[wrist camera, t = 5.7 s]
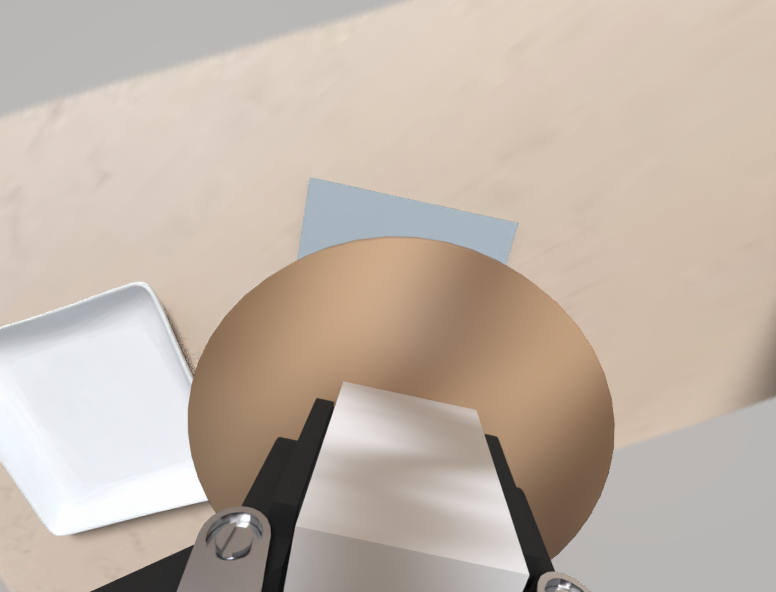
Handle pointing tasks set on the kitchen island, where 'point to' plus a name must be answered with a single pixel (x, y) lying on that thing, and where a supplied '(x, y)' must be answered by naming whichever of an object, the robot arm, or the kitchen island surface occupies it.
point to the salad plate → (97, 411)
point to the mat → (394, 221)
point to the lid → (406, 414)
